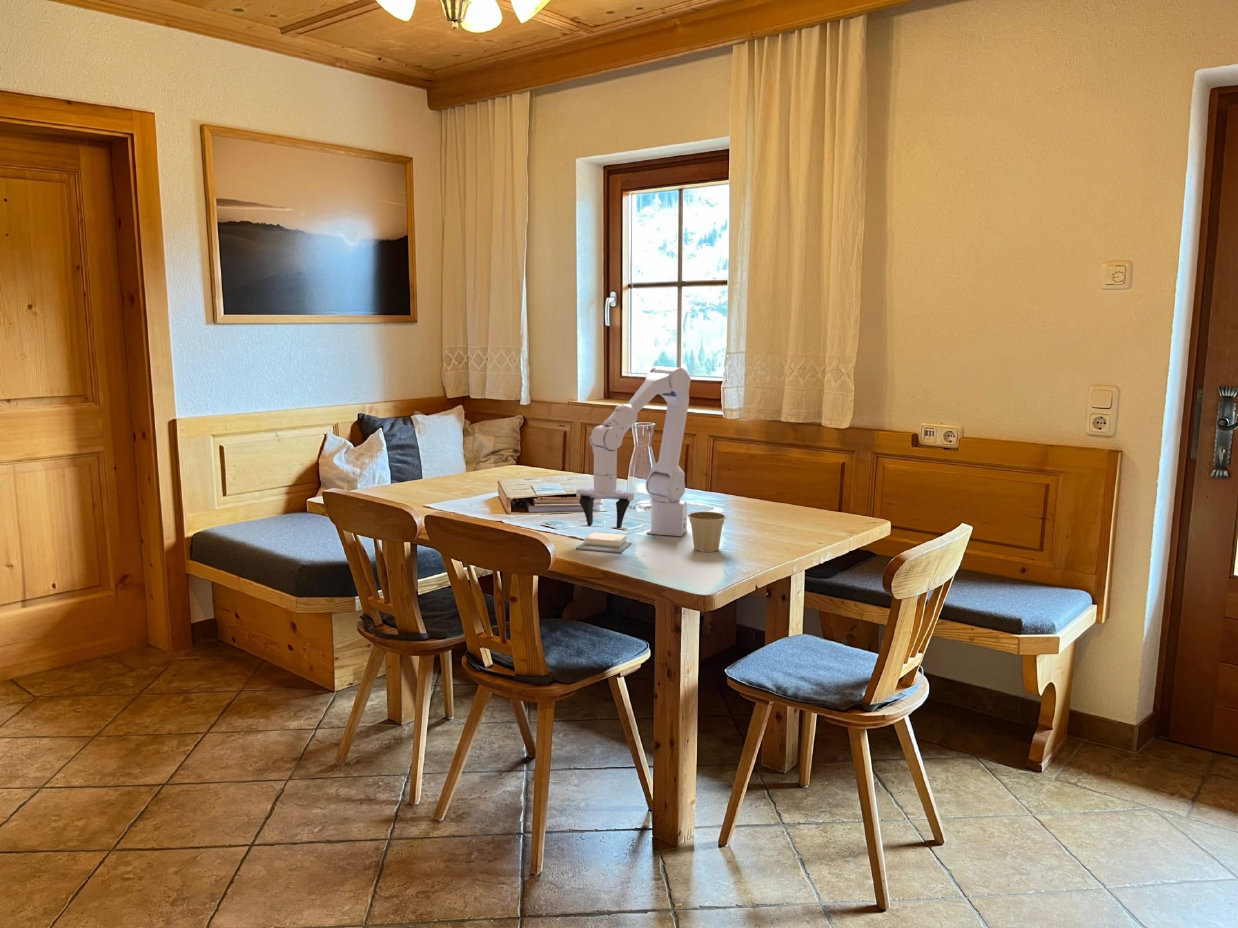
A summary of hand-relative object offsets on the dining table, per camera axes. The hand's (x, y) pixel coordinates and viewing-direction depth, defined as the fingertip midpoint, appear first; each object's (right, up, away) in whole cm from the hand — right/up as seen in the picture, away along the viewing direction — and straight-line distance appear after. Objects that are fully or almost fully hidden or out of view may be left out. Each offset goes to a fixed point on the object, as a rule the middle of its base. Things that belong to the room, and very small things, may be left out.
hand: (604, 526), depth 235 cm
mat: (0, -5, -2) cm, 5 cm away
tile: (+1, -3, +3) cm, 4 cm away
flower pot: (+25, -6, -3) cm, 26 cm away
